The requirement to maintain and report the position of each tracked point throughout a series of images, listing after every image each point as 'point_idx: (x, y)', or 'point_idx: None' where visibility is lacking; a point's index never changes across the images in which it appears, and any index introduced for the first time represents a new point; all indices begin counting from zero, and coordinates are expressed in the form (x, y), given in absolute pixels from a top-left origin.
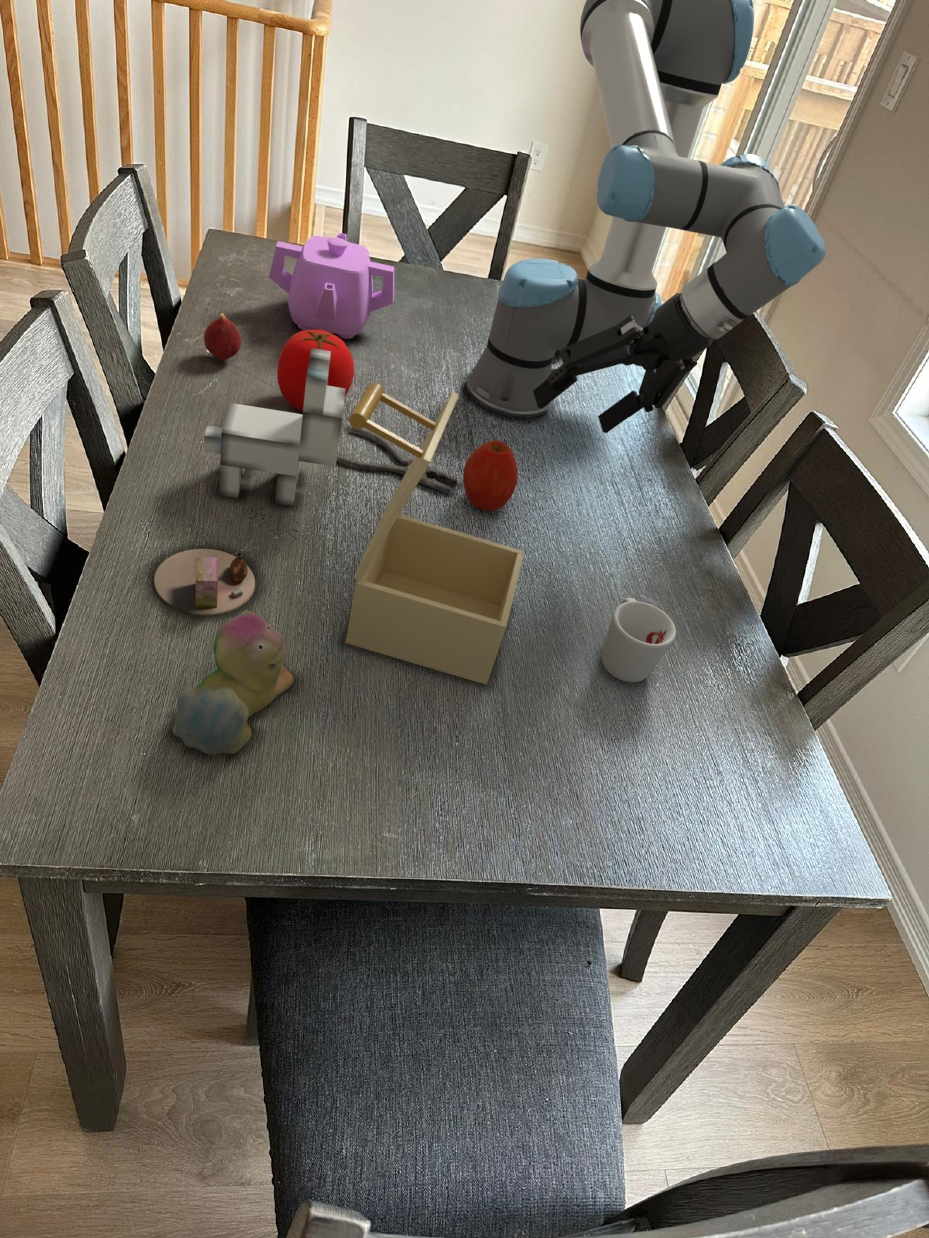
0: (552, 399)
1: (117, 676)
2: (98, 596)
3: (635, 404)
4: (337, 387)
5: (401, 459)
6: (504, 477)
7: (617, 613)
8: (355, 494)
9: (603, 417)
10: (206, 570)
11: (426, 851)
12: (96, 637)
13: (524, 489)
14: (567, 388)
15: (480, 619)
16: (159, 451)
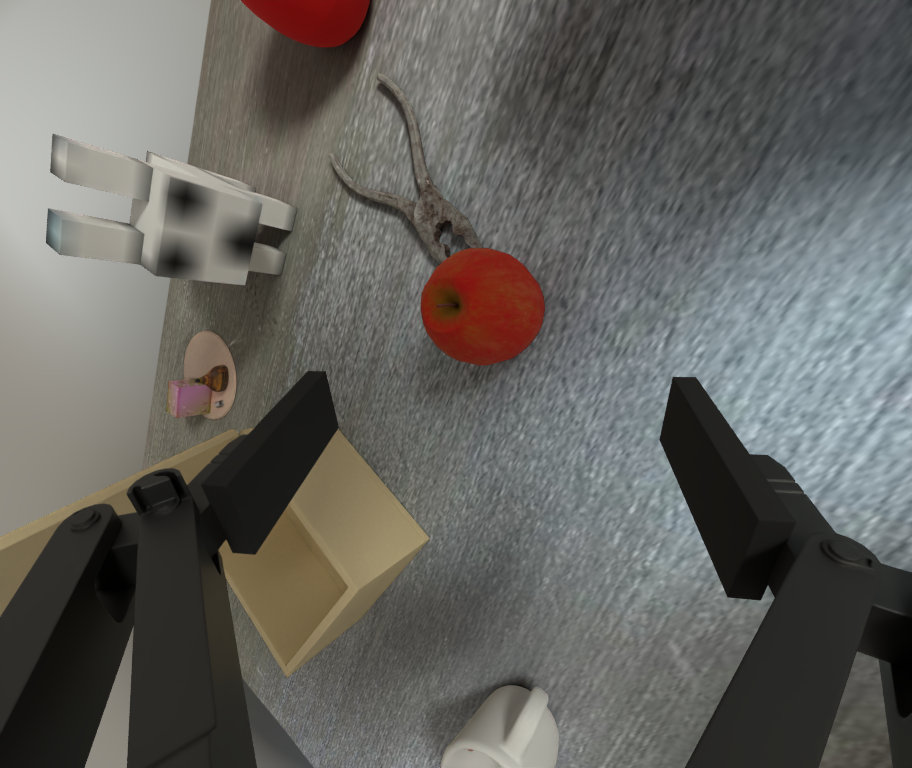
0: (314, 459)
1: (167, 452)
2: (162, 369)
3: (726, 571)
4: (162, 173)
5: (417, 178)
6: (463, 359)
7: (454, 751)
8: (343, 259)
9: (675, 407)
10: (172, 401)
11: (273, 699)
12: (160, 411)
13: (621, 282)
14: (284, 509)
15: (269, 648)
16: (201, 155)
